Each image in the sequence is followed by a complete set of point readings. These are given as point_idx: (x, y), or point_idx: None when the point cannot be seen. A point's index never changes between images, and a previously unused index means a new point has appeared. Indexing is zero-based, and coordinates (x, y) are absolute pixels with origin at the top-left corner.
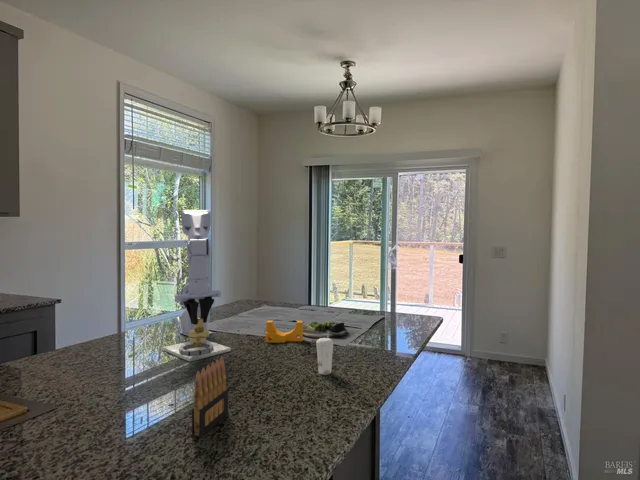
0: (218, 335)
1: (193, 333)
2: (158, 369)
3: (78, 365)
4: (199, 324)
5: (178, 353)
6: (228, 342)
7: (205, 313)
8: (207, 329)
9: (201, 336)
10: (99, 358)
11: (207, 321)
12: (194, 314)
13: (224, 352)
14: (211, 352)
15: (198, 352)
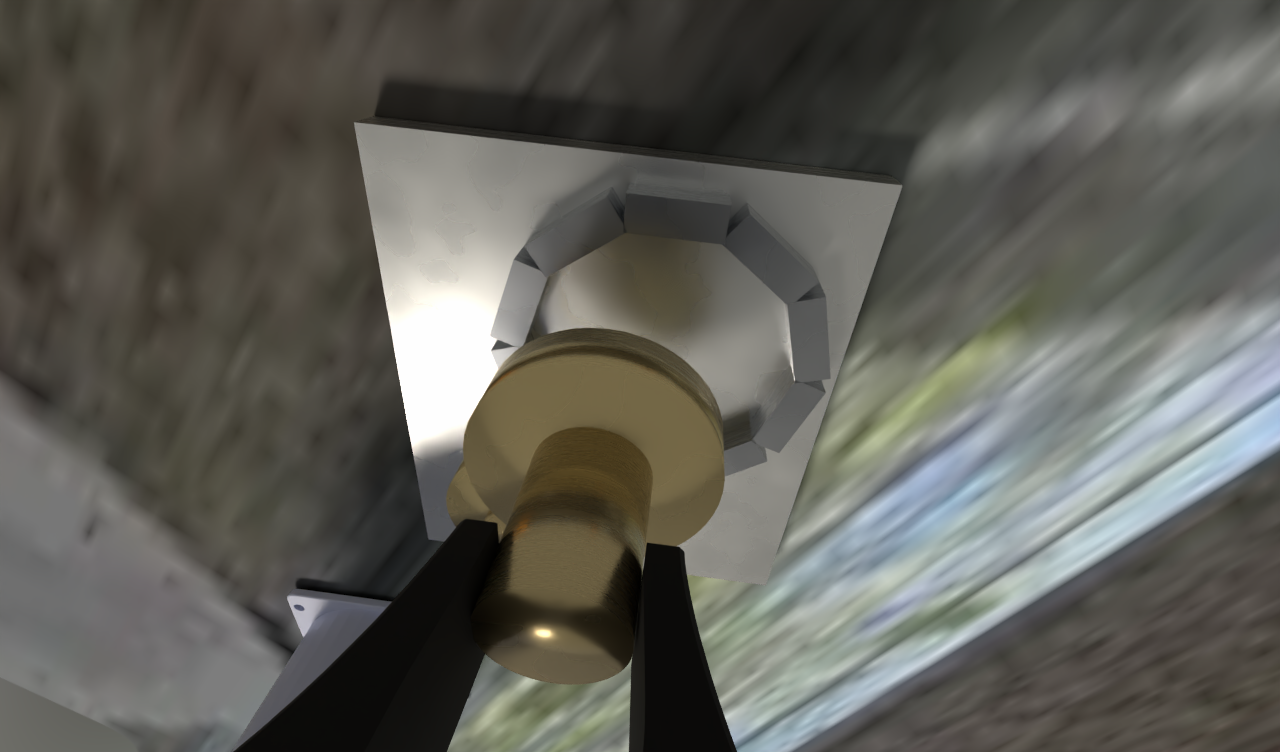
0: (272, 544)
1: (718, 446)
2: (1237, 219)
3: (1256, 680)
4: (606, 519)
5: (826, 393)
6: (272, 368)
7: (422, 668)
8: (309, 635)
9: (646, 353)
10: (1083, 689)
11: (270, 696)
12: (710, 721)
13: (454, 125)
14: (611, 158)
15: (756, 216)
